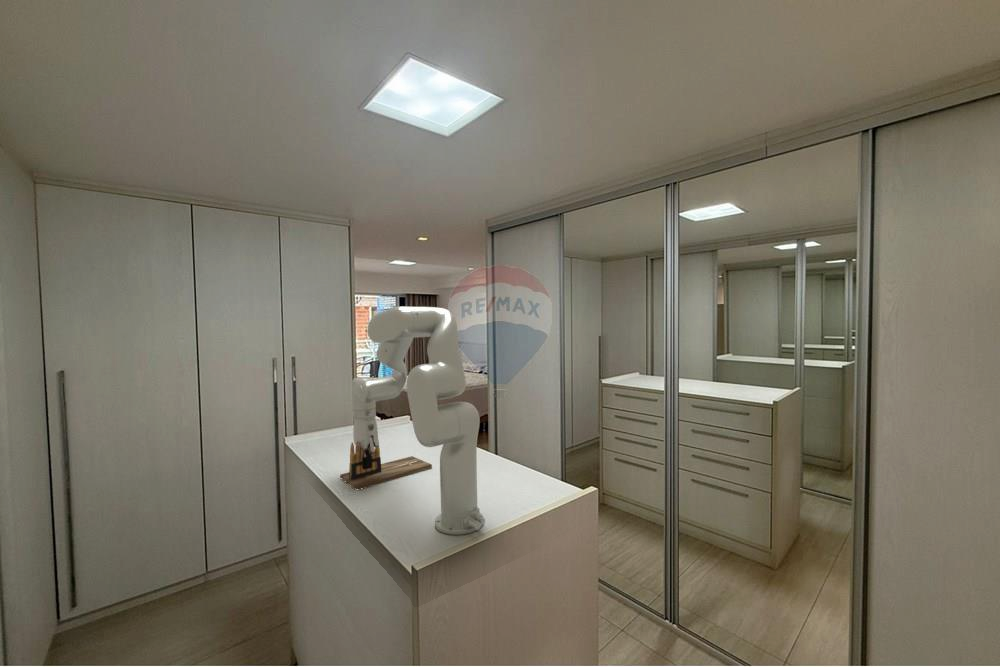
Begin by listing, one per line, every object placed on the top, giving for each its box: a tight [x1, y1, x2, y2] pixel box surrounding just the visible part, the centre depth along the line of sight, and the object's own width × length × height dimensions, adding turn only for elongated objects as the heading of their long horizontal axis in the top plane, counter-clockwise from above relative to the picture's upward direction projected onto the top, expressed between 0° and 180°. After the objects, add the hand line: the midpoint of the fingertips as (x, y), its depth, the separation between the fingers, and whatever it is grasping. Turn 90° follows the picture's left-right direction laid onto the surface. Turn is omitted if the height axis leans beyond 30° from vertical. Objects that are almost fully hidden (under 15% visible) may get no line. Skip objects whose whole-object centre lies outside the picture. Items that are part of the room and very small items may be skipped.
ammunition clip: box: [348, 439, 382, 479], centre depth 139 cm, size 11×2×12 cm, turn 132°
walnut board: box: [339, 455, 433, 490], centre depth 145 cm, size 14×28×2 cm, turn 132°
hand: (365, 467), depth 139 cm, fingers closed on ammunition clip, 2 cm apart
